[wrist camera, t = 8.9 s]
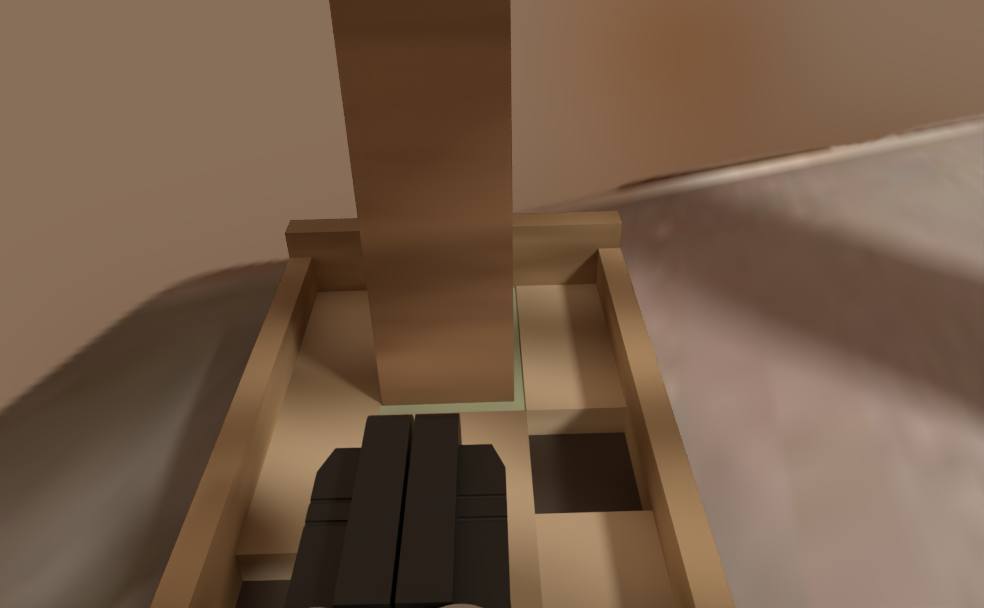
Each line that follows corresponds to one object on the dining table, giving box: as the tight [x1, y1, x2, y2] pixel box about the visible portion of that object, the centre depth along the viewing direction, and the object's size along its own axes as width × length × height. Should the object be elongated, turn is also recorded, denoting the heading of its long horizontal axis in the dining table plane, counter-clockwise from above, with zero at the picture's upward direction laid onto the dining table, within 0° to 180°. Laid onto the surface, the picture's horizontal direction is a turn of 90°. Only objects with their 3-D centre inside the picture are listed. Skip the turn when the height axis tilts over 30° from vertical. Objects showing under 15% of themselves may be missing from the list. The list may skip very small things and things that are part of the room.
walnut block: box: [329, 0, 514, 406], centre depth 23 cm, size 6×4×12 cm, turn 1°
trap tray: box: [150, 211, 735, 608], centre depth 20 cm, size 22×12×4 cm, turn 1°
